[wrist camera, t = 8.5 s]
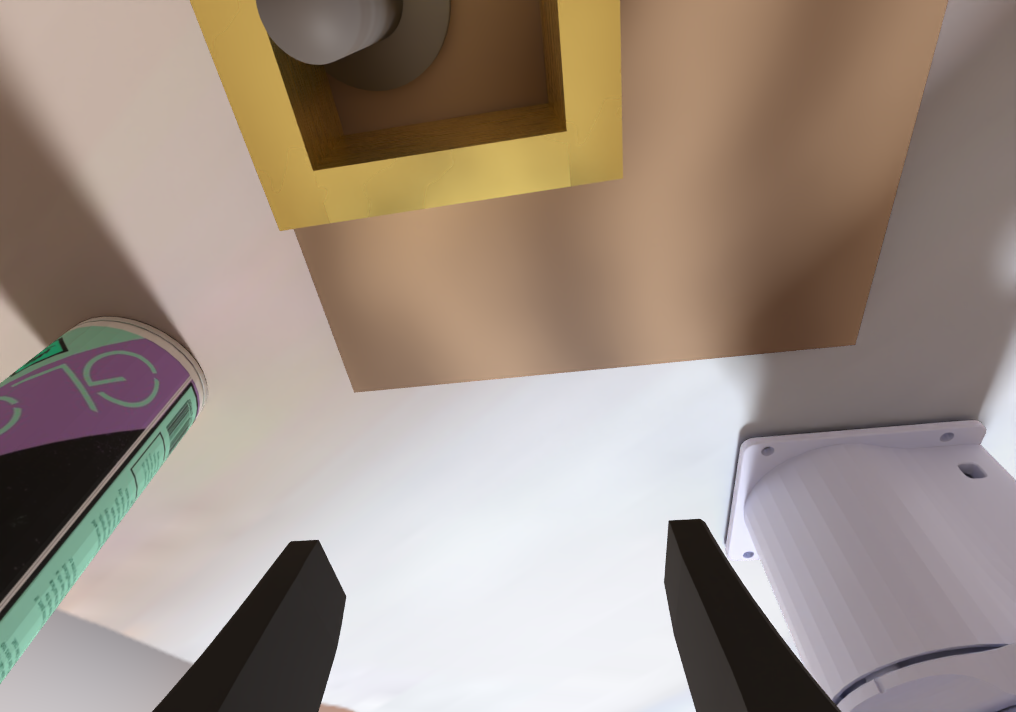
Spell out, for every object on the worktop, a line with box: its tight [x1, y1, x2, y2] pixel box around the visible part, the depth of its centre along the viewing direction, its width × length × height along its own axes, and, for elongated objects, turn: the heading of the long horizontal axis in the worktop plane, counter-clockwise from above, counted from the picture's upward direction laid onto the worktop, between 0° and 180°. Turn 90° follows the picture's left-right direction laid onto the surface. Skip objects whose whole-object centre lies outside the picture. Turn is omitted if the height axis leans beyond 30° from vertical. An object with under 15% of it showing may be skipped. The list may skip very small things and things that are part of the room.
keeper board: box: [256, 0, 948, 392], centre depth 14 cm, size 18×16×6 cm
